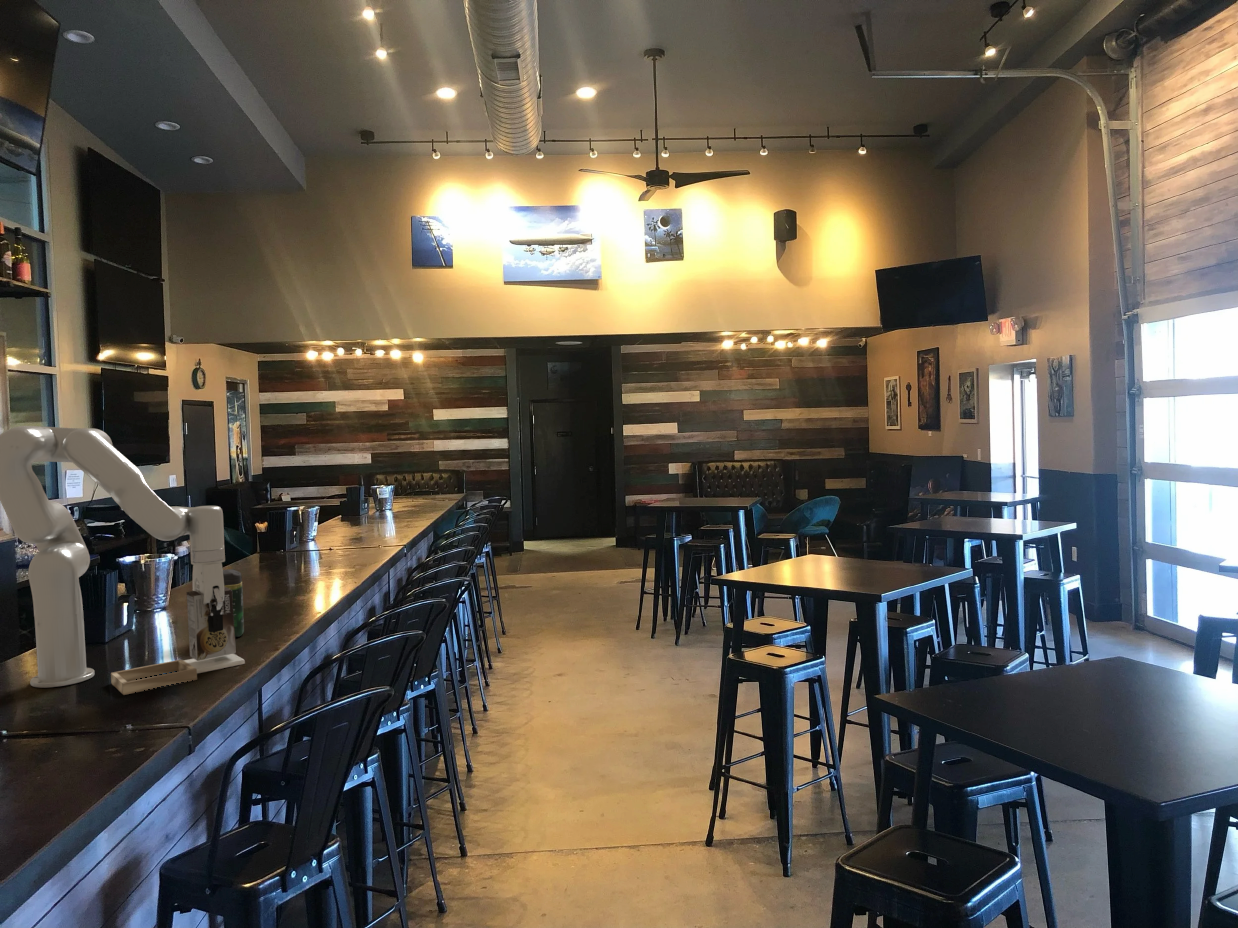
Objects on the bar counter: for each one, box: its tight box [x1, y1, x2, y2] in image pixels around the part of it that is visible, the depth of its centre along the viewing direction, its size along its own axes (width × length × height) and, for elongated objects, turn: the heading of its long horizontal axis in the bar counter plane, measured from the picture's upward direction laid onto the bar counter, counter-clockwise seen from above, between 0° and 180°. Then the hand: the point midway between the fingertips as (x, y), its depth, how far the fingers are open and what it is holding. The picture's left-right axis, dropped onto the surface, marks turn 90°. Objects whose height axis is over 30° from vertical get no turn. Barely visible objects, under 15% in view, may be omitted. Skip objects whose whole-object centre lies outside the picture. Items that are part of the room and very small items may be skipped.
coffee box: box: [186, 587, 236, 661], centre depth 209 cm, size 9×6×16 cm
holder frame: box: [110, 658, 198, 696], centre depth 196 cm, size 12×15×2 cm
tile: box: [183, 653, 246, 674], centre depth 209 cm, size 11×11×1 cm
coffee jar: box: [223, 568, 245, 638], centre depth 238 cm, size 10×8×19 cm
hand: (211, 628), depth 209 cm, fingers closed on coffee box, 6 cm apart
